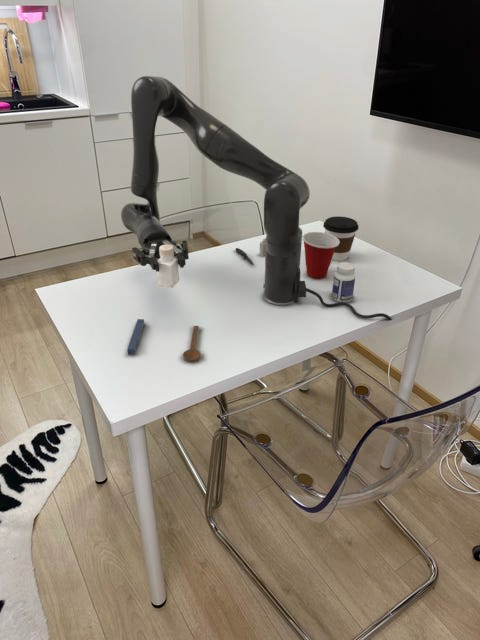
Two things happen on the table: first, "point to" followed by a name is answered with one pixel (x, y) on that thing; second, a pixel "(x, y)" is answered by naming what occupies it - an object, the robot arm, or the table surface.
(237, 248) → the folding knife
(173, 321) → the table surface
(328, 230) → the coffee cup
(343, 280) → the pill bottle
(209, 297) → the table surface
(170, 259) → the salt shaker
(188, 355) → the wooden spoon
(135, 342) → the blue stick
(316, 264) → the plastic cup
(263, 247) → the lighter
